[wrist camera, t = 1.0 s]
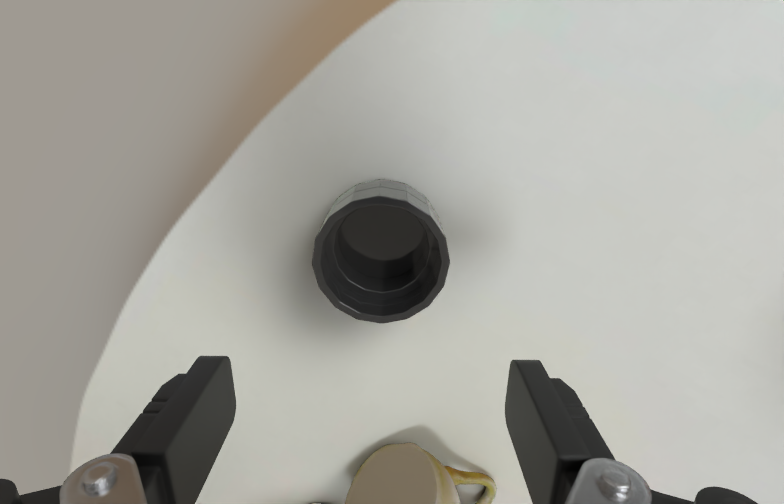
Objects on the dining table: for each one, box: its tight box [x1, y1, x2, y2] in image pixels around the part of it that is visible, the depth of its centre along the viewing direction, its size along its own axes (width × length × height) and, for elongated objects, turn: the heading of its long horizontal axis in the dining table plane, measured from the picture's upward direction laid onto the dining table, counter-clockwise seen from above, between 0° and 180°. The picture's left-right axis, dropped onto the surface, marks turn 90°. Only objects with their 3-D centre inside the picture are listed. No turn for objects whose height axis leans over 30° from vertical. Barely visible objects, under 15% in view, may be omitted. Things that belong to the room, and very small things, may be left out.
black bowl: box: [312, 179, 450, 323], centre depth 23 cm, size 6×6×4 cm
